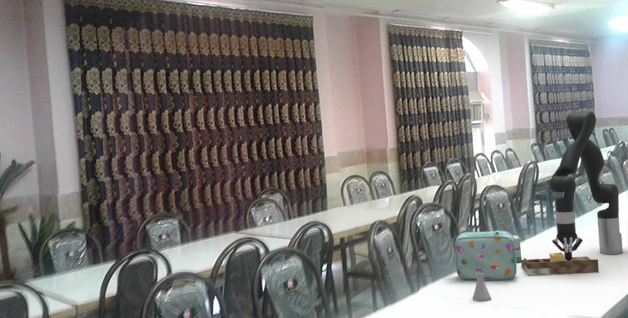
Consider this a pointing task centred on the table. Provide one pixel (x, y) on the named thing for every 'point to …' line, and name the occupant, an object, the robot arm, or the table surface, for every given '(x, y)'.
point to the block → (556, 257)
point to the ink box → (517, 248)
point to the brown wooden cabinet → (560, 266)
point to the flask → (481, 289)
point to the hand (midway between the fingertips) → (568, 260)
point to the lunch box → (486, 255)
